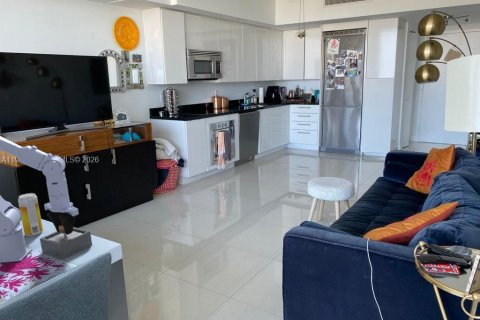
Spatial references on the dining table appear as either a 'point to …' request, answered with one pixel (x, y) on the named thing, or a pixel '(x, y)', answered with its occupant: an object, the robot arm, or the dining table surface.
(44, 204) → the robot arm
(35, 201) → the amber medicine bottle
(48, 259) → the dining table surface
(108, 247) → the dining table surface
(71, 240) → the grey square open box
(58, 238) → the plunger
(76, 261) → the dining table surface
